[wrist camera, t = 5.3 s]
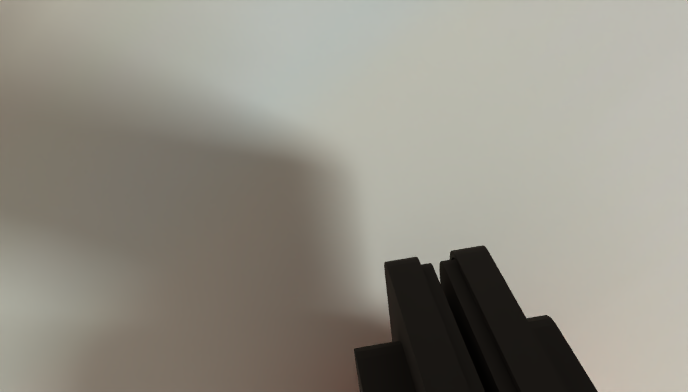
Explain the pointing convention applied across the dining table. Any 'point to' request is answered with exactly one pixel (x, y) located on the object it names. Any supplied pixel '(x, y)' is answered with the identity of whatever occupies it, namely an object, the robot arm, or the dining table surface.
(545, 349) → the robot arm
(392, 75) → the dining table surface
